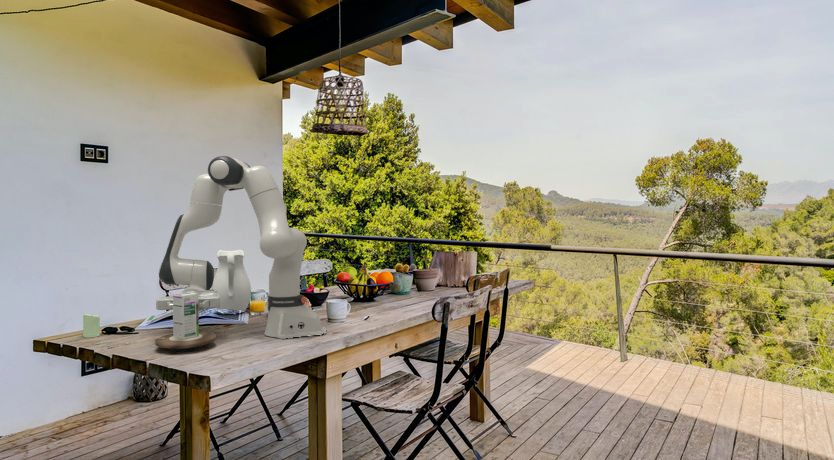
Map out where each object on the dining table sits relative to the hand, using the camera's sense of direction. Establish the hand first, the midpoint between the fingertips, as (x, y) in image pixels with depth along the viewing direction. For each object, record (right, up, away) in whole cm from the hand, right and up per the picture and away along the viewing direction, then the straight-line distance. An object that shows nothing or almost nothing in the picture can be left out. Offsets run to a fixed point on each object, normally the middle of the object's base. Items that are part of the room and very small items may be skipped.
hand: (186, 306), depth 167 cm
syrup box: (0, -10, -1) cm, 10 cm away
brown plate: (0, -11, -1) cm, 11 cm away
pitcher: (-6, -12, +55) cm, 57 cm away
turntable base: (0, -13, -1) cm, 13 cm away
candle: (-40, -13, +13) cm, 44 cm away
